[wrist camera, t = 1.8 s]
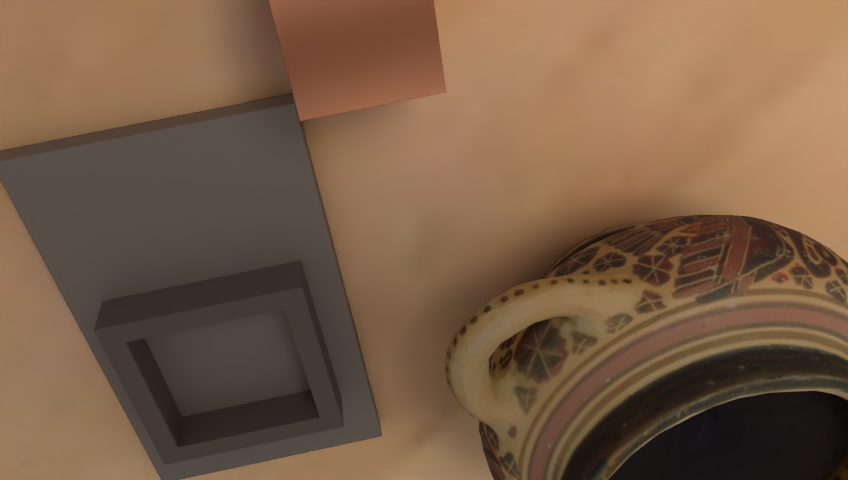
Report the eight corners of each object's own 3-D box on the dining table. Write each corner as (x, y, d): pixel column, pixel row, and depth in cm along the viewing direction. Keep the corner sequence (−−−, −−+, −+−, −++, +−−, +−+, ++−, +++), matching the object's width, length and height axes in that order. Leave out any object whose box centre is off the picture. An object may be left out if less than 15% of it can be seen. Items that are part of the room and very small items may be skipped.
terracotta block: (264, -76, 28) (260, -29, 23) (400, -101, 28) (425, -60, 24) (297, 55, 31) (300, 121, 26) (420, 31, 31) (445, 92, 26)
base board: (-1, 151, 31) (-25, 188, 29) (294, 93, 32) (294, 125, 29) (165, 468, 43) (158, 514, 40) (380, 422, 43) (385, 465, 41)
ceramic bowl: (352, 242, 40) (321, 530, 29) (631, 0, 30) (734, 303, 19) (653, 416, 51) (709, 669, 40) (927, 282, 41) (1093, 569, 31)
